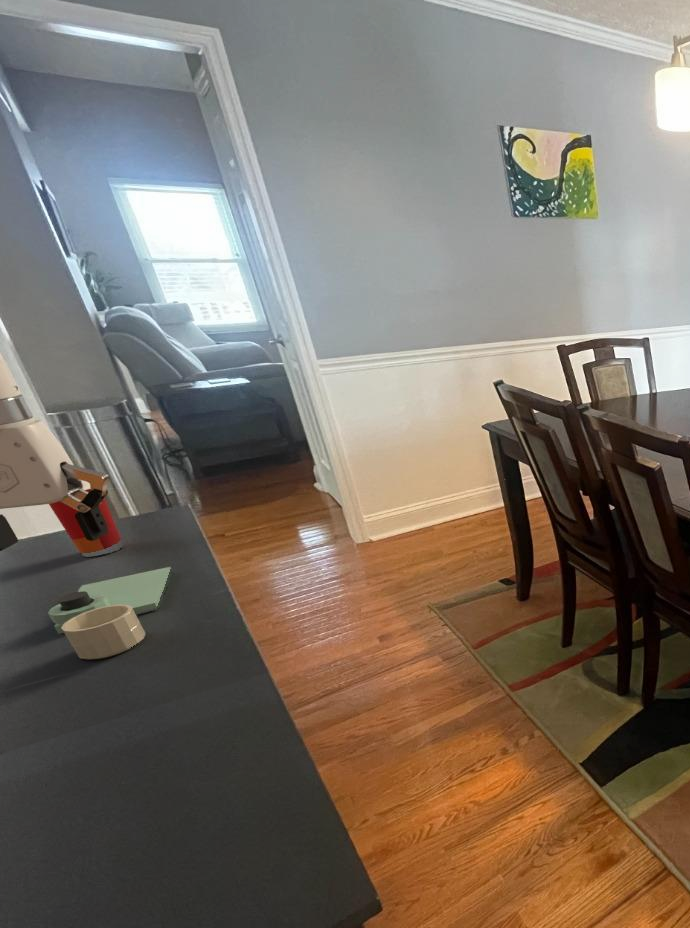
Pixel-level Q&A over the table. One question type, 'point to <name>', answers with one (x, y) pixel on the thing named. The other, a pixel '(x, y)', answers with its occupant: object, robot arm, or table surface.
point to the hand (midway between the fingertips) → (53, 541)
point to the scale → (118, 594)
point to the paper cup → (74, 530)
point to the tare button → (75, 601)
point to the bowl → (104, 631)
